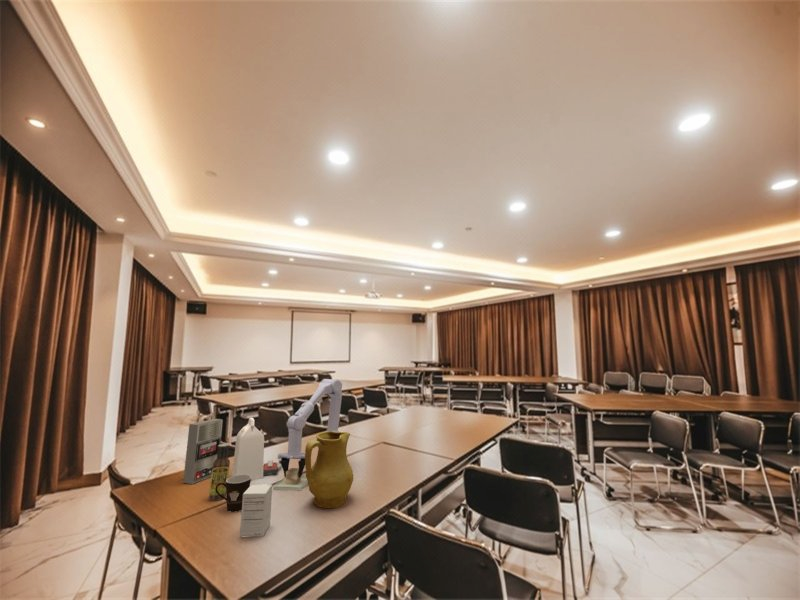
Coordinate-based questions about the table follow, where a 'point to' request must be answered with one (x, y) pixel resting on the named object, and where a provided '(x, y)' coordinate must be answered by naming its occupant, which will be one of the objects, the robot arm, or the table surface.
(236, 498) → the coffee mug
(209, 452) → the cassette tape recorder
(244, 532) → the supplement box
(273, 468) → the walkie-talkie
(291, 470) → the beech cube
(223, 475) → the sauce bottle
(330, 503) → the pitcher
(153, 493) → the table surface
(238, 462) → the milk
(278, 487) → the sage tile
